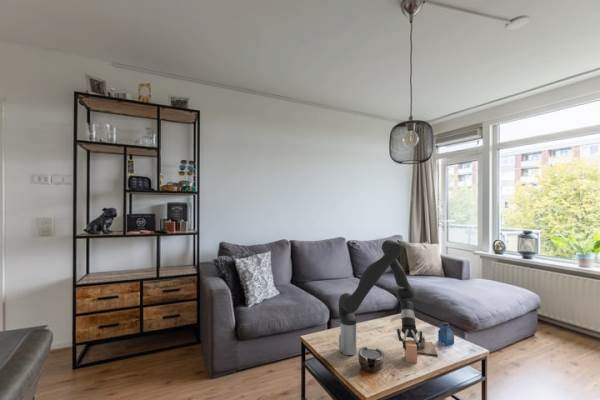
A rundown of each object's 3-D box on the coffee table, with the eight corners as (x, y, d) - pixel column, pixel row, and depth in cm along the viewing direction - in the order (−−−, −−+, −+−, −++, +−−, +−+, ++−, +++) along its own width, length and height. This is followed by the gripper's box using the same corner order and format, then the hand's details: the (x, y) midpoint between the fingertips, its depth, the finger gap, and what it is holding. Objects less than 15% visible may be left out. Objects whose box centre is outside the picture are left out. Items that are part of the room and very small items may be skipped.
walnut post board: (411, 353, 161) (411, 340, 161) (408, 341, 175) (408, 330, 175) (437, 356, 158) (437, 343, 158) (432, 343, 171) (432, 332, 171)
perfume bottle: (445, 339, 177) (445, 320, 177) (454, 343, 172) (453, 324, 172) (438, 340, 175) (438, 321, 175) (446, 345, 169) (446, 325, 169)
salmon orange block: (406, 361, 153) (405, 345, 153) (404, 356, 158) (404, 340, 158) (417, 362, 151) (416, 346, 151) (415, 357, 157) (415, 341, 157)
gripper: (395, 315, 164) (397, 345, 152) (422, 317, 160) (426, 349, 149) (394, 320, 169) (397, 350, 157) (420, 323, 165) (424, 353, 154)
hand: (411, 349), depth 153 cm, fingers closed on salmon orange block, 5 cm apart
